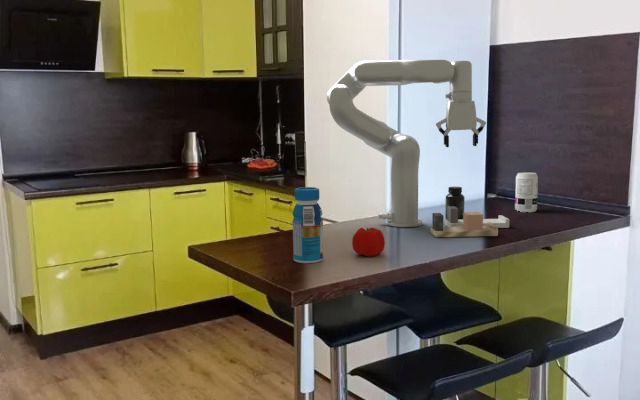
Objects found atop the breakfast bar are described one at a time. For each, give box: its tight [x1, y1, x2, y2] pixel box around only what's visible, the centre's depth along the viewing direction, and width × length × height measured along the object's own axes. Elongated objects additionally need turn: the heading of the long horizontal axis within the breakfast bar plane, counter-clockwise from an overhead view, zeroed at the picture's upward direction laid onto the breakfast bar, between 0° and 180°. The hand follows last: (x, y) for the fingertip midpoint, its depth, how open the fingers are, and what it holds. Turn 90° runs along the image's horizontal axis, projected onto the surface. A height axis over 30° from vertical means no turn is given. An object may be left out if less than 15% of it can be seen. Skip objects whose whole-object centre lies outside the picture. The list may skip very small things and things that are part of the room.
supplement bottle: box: [444, 186, 466, 221], centre depth 231 cm, size 7×7×12 cm
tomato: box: [351, 227, 386, 258], centre depth 178 cm, size 9×9×8 cm
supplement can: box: [514, 172, 539, 213], centre depth 247 cm, size 8×8×15 cm
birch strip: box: [430, 212, 499, 238], centre depth 204 cm, size 20×8×7 cm, turn 92°
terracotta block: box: [463, 211, 484, 230], centre depth 204 cm, size 5×5×5 cm
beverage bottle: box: [291, 186, 324, 264], centre depth 171 cm, size 8×8×20 cm
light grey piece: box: [445, 206, 510, 229], centre depth 217 cm, size 20×8×7 cm, turn 92°
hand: (460, 146), depth 221 cm, fingers open, 9 cm apart
